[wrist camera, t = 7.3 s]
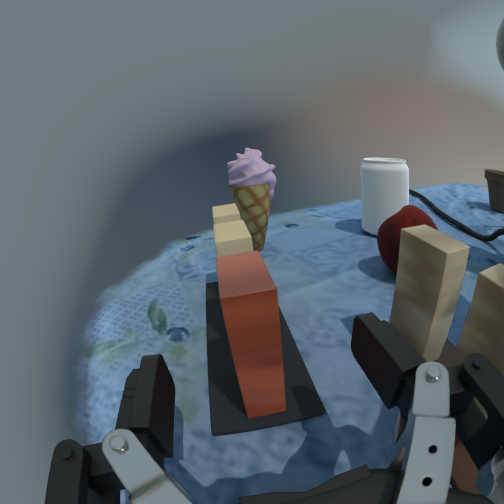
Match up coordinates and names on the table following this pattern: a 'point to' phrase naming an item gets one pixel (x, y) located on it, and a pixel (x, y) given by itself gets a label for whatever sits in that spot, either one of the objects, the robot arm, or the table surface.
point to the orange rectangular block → (253, 331)
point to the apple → (399, 232)
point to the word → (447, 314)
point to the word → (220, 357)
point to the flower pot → (495, 189)
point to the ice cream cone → (252, 192)
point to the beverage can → (382, 190)
